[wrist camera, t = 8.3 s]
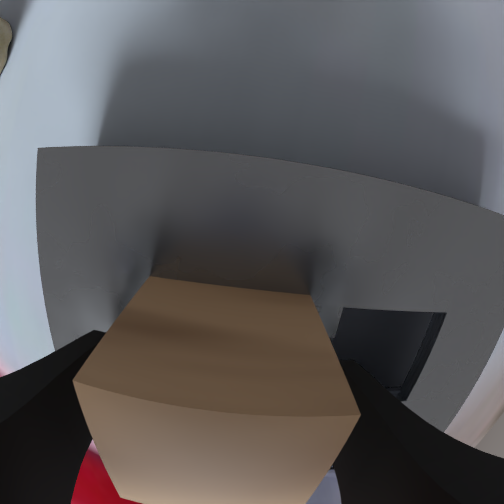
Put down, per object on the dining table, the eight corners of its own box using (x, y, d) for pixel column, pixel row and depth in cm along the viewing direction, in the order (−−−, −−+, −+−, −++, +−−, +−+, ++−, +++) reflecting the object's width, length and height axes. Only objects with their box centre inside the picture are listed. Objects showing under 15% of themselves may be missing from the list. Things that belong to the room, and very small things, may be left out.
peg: (277, 370, 13) (295, 517, 6) (167, 357, 13) (120, 497, 6) (298, 268, 11) (361, 414, 4) (168, 253, 11) (71, 380, 4)
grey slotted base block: (411, 395, 17) (437, 440, 12) (107, 375, 16) (79, 425, 11) (478, 208, 13) (534, 227, 9) (96, 148, 12) (37, 147, 8)
